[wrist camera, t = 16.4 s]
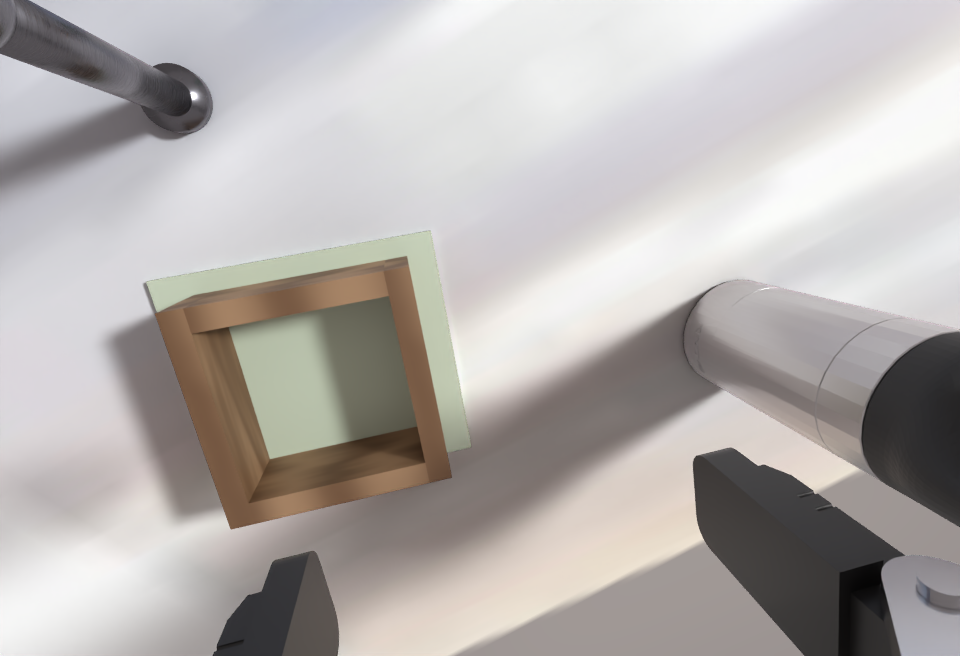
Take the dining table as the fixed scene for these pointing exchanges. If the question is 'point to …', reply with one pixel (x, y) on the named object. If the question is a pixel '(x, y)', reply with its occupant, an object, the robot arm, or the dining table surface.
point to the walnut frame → (232, 419)
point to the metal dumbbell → (103, 66)
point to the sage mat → (336, 351)
